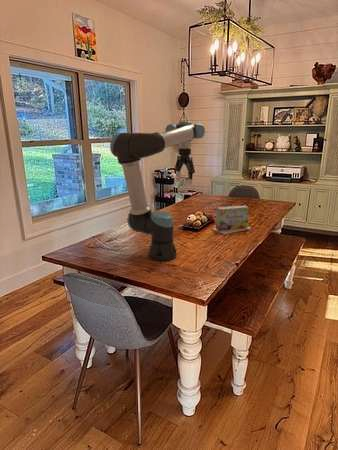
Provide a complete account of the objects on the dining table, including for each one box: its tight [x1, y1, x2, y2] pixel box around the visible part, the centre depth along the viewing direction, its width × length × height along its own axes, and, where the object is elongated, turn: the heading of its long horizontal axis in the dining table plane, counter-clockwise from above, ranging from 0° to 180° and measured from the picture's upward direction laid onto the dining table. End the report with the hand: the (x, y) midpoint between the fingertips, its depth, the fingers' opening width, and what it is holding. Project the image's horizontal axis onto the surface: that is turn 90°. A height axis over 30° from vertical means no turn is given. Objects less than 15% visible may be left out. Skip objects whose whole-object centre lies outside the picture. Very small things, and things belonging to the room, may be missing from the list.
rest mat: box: [210, 225, 253, 236], centre depth 214 cm, size 12×26×1 cm, turn 120°
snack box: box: [215, 205, 250, 231], centre depth 212 cm, size 21×6×15 cm, turn 108°
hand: (184, 183), depth 197 cm, fingers open, 13 cm apart
